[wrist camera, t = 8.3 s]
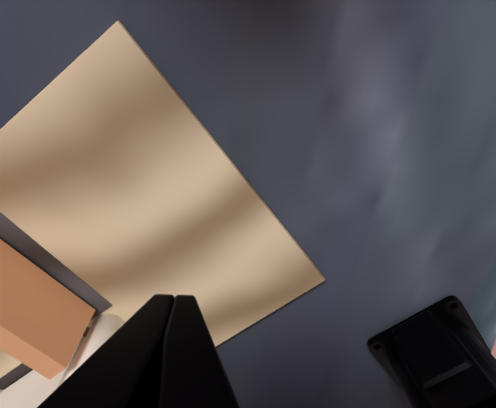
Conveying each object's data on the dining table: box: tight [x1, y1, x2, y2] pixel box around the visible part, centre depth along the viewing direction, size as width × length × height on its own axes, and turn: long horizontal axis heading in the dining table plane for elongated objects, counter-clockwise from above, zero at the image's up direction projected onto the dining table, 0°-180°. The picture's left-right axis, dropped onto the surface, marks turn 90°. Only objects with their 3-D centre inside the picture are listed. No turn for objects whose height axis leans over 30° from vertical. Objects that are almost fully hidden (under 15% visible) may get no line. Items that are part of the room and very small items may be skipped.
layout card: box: [0, 21, 325, 390], centre depth 20 cm, size 17×24×1 cm
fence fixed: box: [0, 313, 125, 408], centre depth 20 cm, size 2×12×6 cm, turn 126°
